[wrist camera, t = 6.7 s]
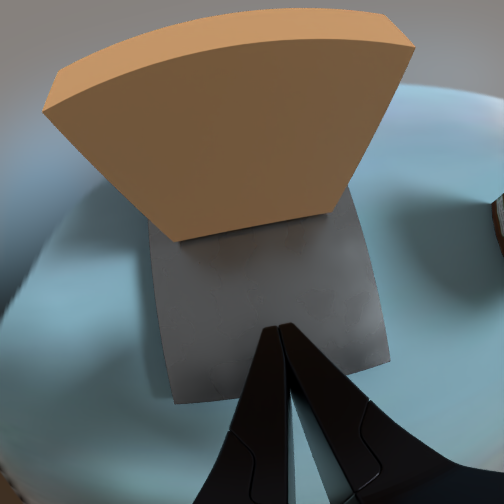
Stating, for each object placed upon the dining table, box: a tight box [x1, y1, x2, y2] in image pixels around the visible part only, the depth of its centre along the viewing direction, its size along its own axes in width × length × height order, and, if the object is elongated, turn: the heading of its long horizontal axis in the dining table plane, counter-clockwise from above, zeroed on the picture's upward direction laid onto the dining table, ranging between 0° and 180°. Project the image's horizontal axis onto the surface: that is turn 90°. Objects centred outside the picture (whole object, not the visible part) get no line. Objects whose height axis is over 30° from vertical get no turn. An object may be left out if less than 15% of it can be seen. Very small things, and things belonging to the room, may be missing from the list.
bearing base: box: [148, 185, 390, 404], centre depth 11 cm, size 14×11×8 cm
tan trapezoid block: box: [42, 8, 415, 242], centre depth 10 cm, size 6×8×10 cm
